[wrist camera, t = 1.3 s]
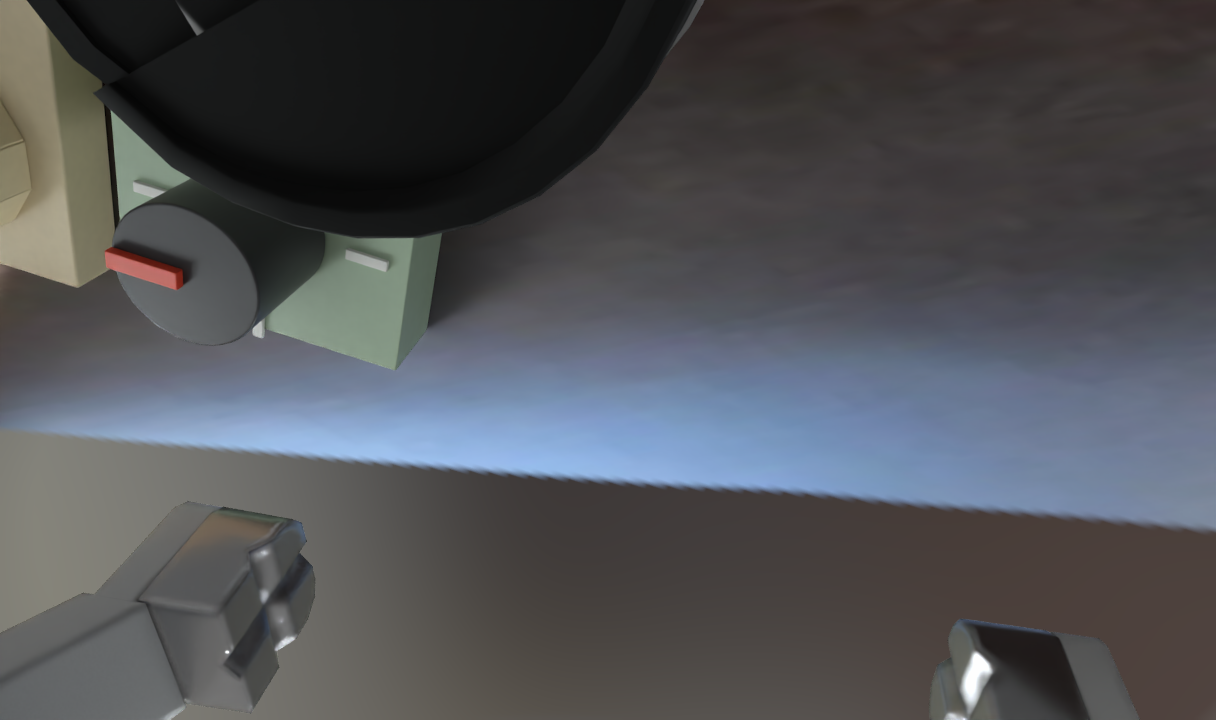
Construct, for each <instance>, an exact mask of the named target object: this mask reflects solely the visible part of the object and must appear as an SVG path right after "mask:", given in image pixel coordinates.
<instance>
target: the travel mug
mask: <svg viewBox="0 0 1216 720" xmlns="http://www.w3.org/2000/svg"><path fill="white" fill-rule="evenodd" d="M27 1H28V3H29V4H30V5H31V7H32V8H33V9H34V10H35V12H36V13H37V14H38V15H39V17H40V18H41V19H42V21H43V22H44V23H45V24H46V26H47V27H48V28H49V29H50V31H51V32H52V33H53V35H54V36H55V37H56V38H57V40H58V41H59V42H60V43H61V45H62V46H63V47H64V49H65V50H66V51H67V52H68V54H69V55H70V56H71V57H72V59H73V60H74V61H76V62H77V63H78V64H80V65H81V66H82V67H84V68H85V69H86V70H88V71H89V72H90V73H92V74H93V75H94V76H96V77H97V78H98V79H100V80H101V81H102V82H104V83H105V84H106V86H104V87H102V88H101V89H99V90H97V91H96V92H94V93H93V94H94V95H95V96H96V97H97V98H98V99H99V100H100V101H102V102H103V103H104V104H105V105H106V106H107V107H108V108H109V109H110V110H111V111H112V112H113V113H114V114H115V115H116V116H118V117H119V118H120V119H121V120H122V121H123V122H124V123H125V124H126V125H127V126H128V127H129V128H130V129H131V130H132V131H133V132H135V133H136V134H137V135H138V136H139V137H140V138H141V139H142V140H143V141H144V142H145V143H146V144H147V145H148V146H149V147H150V148H152V149H153V150H154V151H155V152H156V153H157V154H158V155H159V156H160V157H161V158H162V159H163V160H164V161H165V162H166V163H168V164H169V165H170V166H171V167H172V168H174V169H175V170H177V171H179V172H181V173H182V174H184V175H186V176H188V177H189V178H191V179H193V180H194V181H196V182H198V183H200V184H201V185H203V186H205V187H207V188H208V189H210V190H212V191H214V192H215V193H217V194H219V195H221V196H222V197H224V198H226V199H227V200H229V201H231V202H233V203H235V204H238V205H240V206H243V207H246V208H248V209H251V210H253V211H256V212H259V213H261V214H264V215H266V216H269V217H272V218H274V219H277V220H279V221H282V222H285V223H287V224H290V225H292V226H295V227H300V228H305V229H311V230H316V231H321V232H326V233H331V234H337V235H342V236H347V237H352V238H357V239H359V238H422V237H427V236H431V235H435V234H440V233H444V232H449V231H453V230H458V229H462V228H466V227H471V226H475V225H480V224H482V223H485V222H487V221H489V220H491V219H493V218H495V217H497V216H499V215H501V214H503V213H505V212H507V211H509V210H511V209H514V208H516V207H518V206H520V205H522V204H524V203H526V202H528V201H530V200H532V199H534V198H536V197H538V196H541V195H542V194H543V193H544V192H545V191H547V190H548V189H549V188H550V187H552V186H553V185H554V184H555V183H557V182H558V181H559V180H560V179H562V178H563V177H564V176H565V175H567V174H568V173H569V172H570V171H572V170H573V169H574V168H575V167H577V166H578V165H579V164H580V163H582V162H583V161H584V160H585V159H587V158H588V157H589V156H590V155H592V154H593V153H594V152H595V151H597V149H598V148H599V147H600V146H601V144H602V143H603V142H604V141H605V139H606V138H607V137H608V136H609V135H610V133H611V132H612V131H613V130H614V128H615V127H616V126H617V125H618V123H619V122H620V121H621V120H622V118H623V117H624V116H625V115H626V113H627V112H628V111H629V110H630V108H631V107H632V106H633V105H634V103H635V102H636V101H637V100H638V99H639V97H640V96H641V95H642V94H643V92H644V91H645V90H646V89H647V87H648V86H649V84H650V82H651V80H652V79H653V77H654V75H655V73H656V72H657V70H658V68H659V67H660V65H661V63H662V62H663V60H664V58H665V57H666V56H667V55H668V53H669V52H670V51H671V50H672V48H673V47H674V46H675V45H676V43H677V42H678V41H679V40H680V38H681V37H682V36H683V35H684V33H685V32H686V31H687V29H688V28H689V27H690V26H691V24H692V22H693V20H694V18H695V16H696V14H697V13H698V11H699V9H700V7H701V5H702V3H703V2H704V0H27Z"/></svg>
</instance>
